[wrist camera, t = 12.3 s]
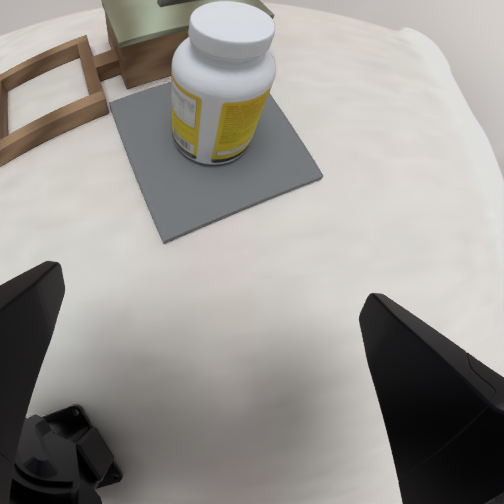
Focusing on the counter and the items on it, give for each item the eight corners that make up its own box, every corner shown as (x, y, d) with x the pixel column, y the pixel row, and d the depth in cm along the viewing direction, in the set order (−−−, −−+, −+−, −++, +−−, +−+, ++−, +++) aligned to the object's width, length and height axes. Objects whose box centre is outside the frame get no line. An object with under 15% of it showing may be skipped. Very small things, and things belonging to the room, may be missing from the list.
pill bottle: (263, 128, 25) (310, 23, 14) (224, 182, 23) (258, 71, 12) (200, 95, 25) (217, -15, 14) (155, 143, 23) (148, 25, 12)
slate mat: (163, 243, 22) (163, 241, 21) (110, 106, 24) (109, 102, 23) (320, 179, 26) (323, 176, 26) (247, 68, 28) (248, 64, 27)
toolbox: (0, 166, 20) (-36, 123, 14) (-2, 90, 22) (-23, 47, 15) (268, 69, 28) (288, 18, 22) (223, 14, 30) (233, -31, 23)
